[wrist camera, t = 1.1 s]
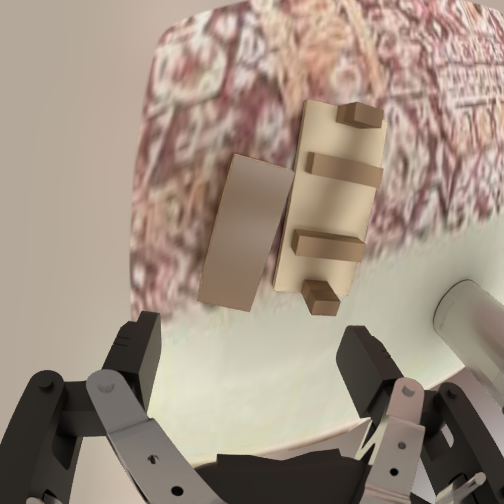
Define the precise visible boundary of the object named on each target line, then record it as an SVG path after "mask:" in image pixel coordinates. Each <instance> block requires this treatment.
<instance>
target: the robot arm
mask: <svg viewBox="0 0 504 504" xmlns="http://www.w3.org/2000/svg"><path fill="white" fill-rule="evenodd" d="M434 329H435V331H436V332H437V334H438V335H439V336H440V337H441V338H442V339H443V340H444V341H445V343H446V344H447V345H448V346H449V347H450V348H451V350H452V351H453V352H454V353H455V354H456V355H457V357H458V358H459V359H460V360H461V361H462V362H463V364H464V365H465V366H466V367H467V368H468V370H469V371H470V372H471V373H472V374H473V376H474V377H475V378H476V379H477V380H478V382H479V383H480V384H481V386H482V387H483V388H484V389H485V390H486V392H487V393H488V394H489V396H490V397H491V398H492V399H493V401H494V402H495V403H496V404H497V406H498V407H499V409H500V410H501V411H502V412H503V414H504V305H503V304H501V303H500V302H499V301H498V300H496V299H495V298H494V297H493V296H491V295H490V294H489V293H488V292H486V291H485V290H484V289H483V288H481V287H480V286H479V285H477V284H476V283H475V282H473V281H471V280H466V281H462V282H460V283H458V284H457V285H455V286H454V287H453V288H452V289H451V290H450V291H449V292H448V293H447V294H446V295H445V296H444V298H443V299H442V301H441V302H440V304H439V306H438V308H437V311H436V313H435V317H434ZM160 355H161V320H160V313H156V312H148V311H142V312H141V313H140V316H139V318H138V320H137V322H132V321H128V322H127V323H126V324H125V325H123V326H122V327H121V328H120V330H119V332H118V334H117V337H116V338H115V341H114V343H113V345H112V347H111V349H110V351H109V353H108V356H107V358H106V360H105V362H104V365H103V367H102V369H101V370H98V371H96V372H94V373H92V374H91V375H90V376H89V377H88V379H87V381H78V382H77V381H76V382H64V381H63V378H62V376H61V375H60V374H58V373H57V372H54V371H51V370H44V371H40V372H38V373H36V374H35V375H33V376H32V378H31V379H30V381H29V383H28V385H27V387H26V389H25V391H24V393H23V395H22V397H21V399H20V401H19V403H18V405H17V407H16V409H15V412H14V413H13V416H12V418H11V420H10V423H9V425H8V427H7V429H6V432H5V434H4V437H3V439H2V442H1V444H0V504H69V499H70V494H71V488H72V483H73V478H74V473H75V469H76V464H77V460H78V456H79V452H80V448H81V444H82V440H83V437H90V436H106V438H107V440H108V442H109V443H110V445H111V447H112V449H113V451H114V453H115V454H116V456H117V458H118V460H119V461H120V463H121V465H122V466H123V468H124V470H125V472H126V473H127V475H128V476H129V478H130V480H131V481H132V483H133V485H134V486H135V488H136V489H137V491H138V492H139V494H140V495H141V497H142V498H143V500H144V501H145V502H146V504H431V503H429V502H427V501H425V500H424V499H422V498H420V497H419V496H416V495H415V494H413V493H412V492H411V489H412V486H413V482H414V478H415V474H416V471H417V466H418V462H419V457H420V458H421V460H422V463H423V465H424V467H425V470H426V472H427V475H428V477H429V480H430V482H431V485H432V487H433V489H434V492H435V495H436V501H435V504H504V458H503V456H502V454H501V452H500V450H499V448H498V447H497V445H496V443H495V441H494V440H493V438H492V436H491V435H490V433H489V431H488V430H487V428H486V427H485V425H484V423H483V421H482V420H481V418H480V417H479V415H478V413H477V412H476V410H475V409H474V407H473V406H472V404H471V402H470V401H469V399H468V398H467V397H466V395H465V393H464V392H463V390H462V389H461V388H460V387H459V386H457V385H456V384H454V383H450V382H445V383H443V384H441V386H440V387H439V389H438V390H437V391H430V390H424V389H423V387H422V385H421V384H420V383H419V382H417V381H416V380H414V379H411V378H407V377H404V376H403V375H402V373H401V371H400V370H399V368H398V367H397V365H396V364H395V362H394V361H393V359H392V358H391V356H390V355H389V353H388V352H387V350H386V349H385V347H384V346H383V344H382V343H381V342H380V341H379V340H378V339H376V338H375V337H374V336H371V334H370V333H369V331H368V330H367V328H366V327H365V326H347V327H346V329H345V332H344V335H343V337H342V340H341V343H340V345H339V348H338V351H337V354H336V363H337V366H338V368H339V371H340V373H341V375H342V377H343V380H344V382H345V384H346V387H347V389H348V391H349V393H350V396H351V398H352V400H353V403H354V405H355V407H356V410H357V412H358V414H359V417H360V418H366V417H371V419H372V420H371V422H370V423H369V426H368V428H367V430H366V433H365V435H364V438H363V440H362V443H361V445H360V447H359V450H358V452H357V454H356V456H355V458H354V459H353V458H350V457H344V456H341V454H340V451H339V449H332V450H323V451H314V452H309V453H306V454H303V455H300V456H297V457H294V458H290V459H287V460H283V461H282V460H281V461H280V460H273V459H268V458H262V457H257V456H252V455H227V454H217V460H216V462H212V463H207V464H203V465H201V466H198V467H195V468H194V469H193V468H192V466H191V465H190V464H189V463H188V462H187V460H186V459H185V458H184V457H183V456H182V454H181V453H180V452H179V450H178V449H177V448H176V447H175V445H174V444H173V443H172V441H171V440H170V439H169V437H168V436H167V435H166V433H165V432H164V431H163V429H162V428H161V427H160V425H159V424H158V423H157V421H156V420H155V419H154V418H151V419H150V418H149V417H148V416H147V410H148V406H149V401H150V397H151V392H152V388H153V384H154V380H155V375H156V371H157V367H158V363H159V359H160ZM445 424H447V426H448V428H449V429H450V431H451V433H452V435H453V438H454V443H453V445H452V447H451V448H450V447H449V444H448V442H447V441H446V438H445V437H444V435H443V433H442V431H441V429H442V428H443V427H444V426H445Z"/></svg>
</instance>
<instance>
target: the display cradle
mask: <svg viewBox="0 0 504 504" xmlns="http://www.w3.org/2000/svg"><path fill="white" fill-rule="evenodd" d="M383 112H384V111H383V110H380V109H377V108H374V107H371V106H368V105H365V104H362V103H359V102H354V103H350V104H346V105H342V106H334V105H331V104H327V103H323V102H318V101H314V100H310V99H307V100H305V101H304V108H303V114H302V121H301V127H300V133H299V140H298V146H297V152H296V158H295V164H294V170H293V172H294V173H295V175H294V178H293V181H292V184H291V188H290V193H289V199H288V205H287V210H286V216H285V222H284V227H283V232H282V238H281V243H280V249H279V254H278V259H277V264H276V270H275V275H274V280H273V285H272V286H273V290H274V291H284V292H297V293H302V295H303V298H304V300H305V302H306V304H307V306H308V309H309V311H310V313H311V315H323V316H336V314H337V311H338V308H339V305H340V300H339V299H338V297H337V296H336V295H342V296H348V294H349V290H350V287H351V284H352V281H353V277H354V274H355V271H356V267H357V264H358V262H360V263H361V261H362V257H363V254H364V250H365V246H366V244H365V243H364V238H365V234H366V230H367V226H368V222H369V218H370V214H371V209H372V205H373V201H374V196H375V191H376V188H380V184H381V179H382V174H383V168H380V167H381V161H382V156H383V150H384V144H385V138H386V131H387V125H388V122H387V121H385V120H382V119H383Z"/></svg>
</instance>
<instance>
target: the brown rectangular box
mask: <svg viewBox="0 0 504 504" xmlns="http://www.w3.org/2000/svg"><path fill="white" fill-rule="evenodd" d="M294 175H295V173H294V172H292V170H289V169H286V168H284V167H282V166H279V165H275V164H272V163H269V162H265V161H262V160H258V159H255V158H251V157H248V156H244V155H240V154H236V153H234V154H233V157H232V161H231V164H230V168H229V172H228V175H227V179H226V182H225V186H224V190H223V193H222V197H221V201H220V204H219V208H218V212H217V216H216V220H215V224H214V227H213V231H212V235H211V239H210V243H209V247H208V251H207V255H206V259H205V264H204V268H203V272H202V277H201V282H200V287H199V291H198V300H197V301H200V302H204V303H209V304H213V305H218V306H223V307H227V308H232V309H237V310H242V311H247V312H250V309H251V306H252V303H253V300H254V297H255V294H256V292H257V289H258V286H259V283H260V280H261V277H262V274H263V271H264V268H265V265H266V261H267V258H268V255H269V252H270V249H271V246H272V243H273V240H274V237H275V234H276V231H277V228H278V225H279V222H280V219H281V216H282V212H283V209H284V206H285V203H286V200H287V197H288V194H289V191H290V187H291V184H292V181H293V178H294Z"/></svg>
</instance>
